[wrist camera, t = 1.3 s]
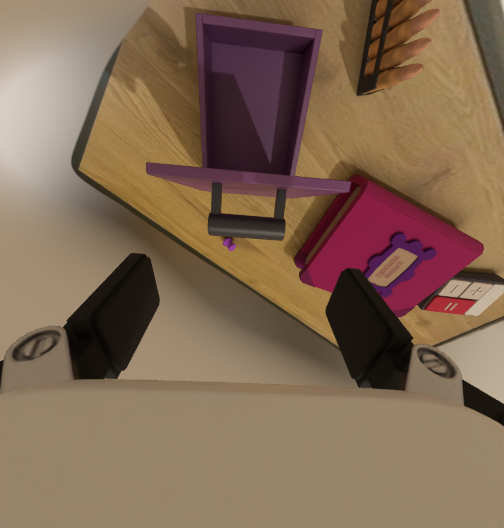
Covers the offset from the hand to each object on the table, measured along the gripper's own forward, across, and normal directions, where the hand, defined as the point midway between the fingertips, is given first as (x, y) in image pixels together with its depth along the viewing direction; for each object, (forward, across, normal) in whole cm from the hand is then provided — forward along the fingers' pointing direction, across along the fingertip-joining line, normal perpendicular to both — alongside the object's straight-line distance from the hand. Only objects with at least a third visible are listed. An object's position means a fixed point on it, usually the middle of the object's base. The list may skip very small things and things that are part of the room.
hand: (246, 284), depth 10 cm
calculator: (+31, -54, +23) cm, 66 cm away
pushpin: (+31, +3, +14) cm, 34 cm away
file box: (+31, 0, -7) cm, 31 cm away
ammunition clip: (+31, -15, -17) cm, 38 cm away
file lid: (+15, 0, -1) cm, 15 cm away
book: (+31, -28, +13) cm, 44 cm away
